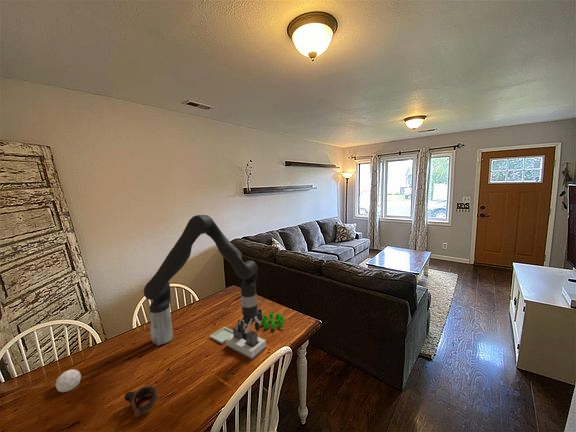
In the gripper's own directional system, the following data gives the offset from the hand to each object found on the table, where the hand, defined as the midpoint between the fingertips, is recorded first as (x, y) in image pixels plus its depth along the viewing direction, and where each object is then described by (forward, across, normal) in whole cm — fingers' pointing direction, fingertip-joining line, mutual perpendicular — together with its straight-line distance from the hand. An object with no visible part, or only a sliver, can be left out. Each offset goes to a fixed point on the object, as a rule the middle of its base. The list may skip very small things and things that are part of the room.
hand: (251, 334), depth 118 cm
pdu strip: (+8, 0, +4) cm, 9 cm away
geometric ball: (+9, -58, +47) cm, 75 cm away
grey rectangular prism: (+7, 0, 0) cm, 7 cm away
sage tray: (+8, 0, +21) cm, 23 cm away
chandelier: (+9, +23, +6) cm, 26 cm away
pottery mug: (+9, -44, +15) cm, 48 cm away
